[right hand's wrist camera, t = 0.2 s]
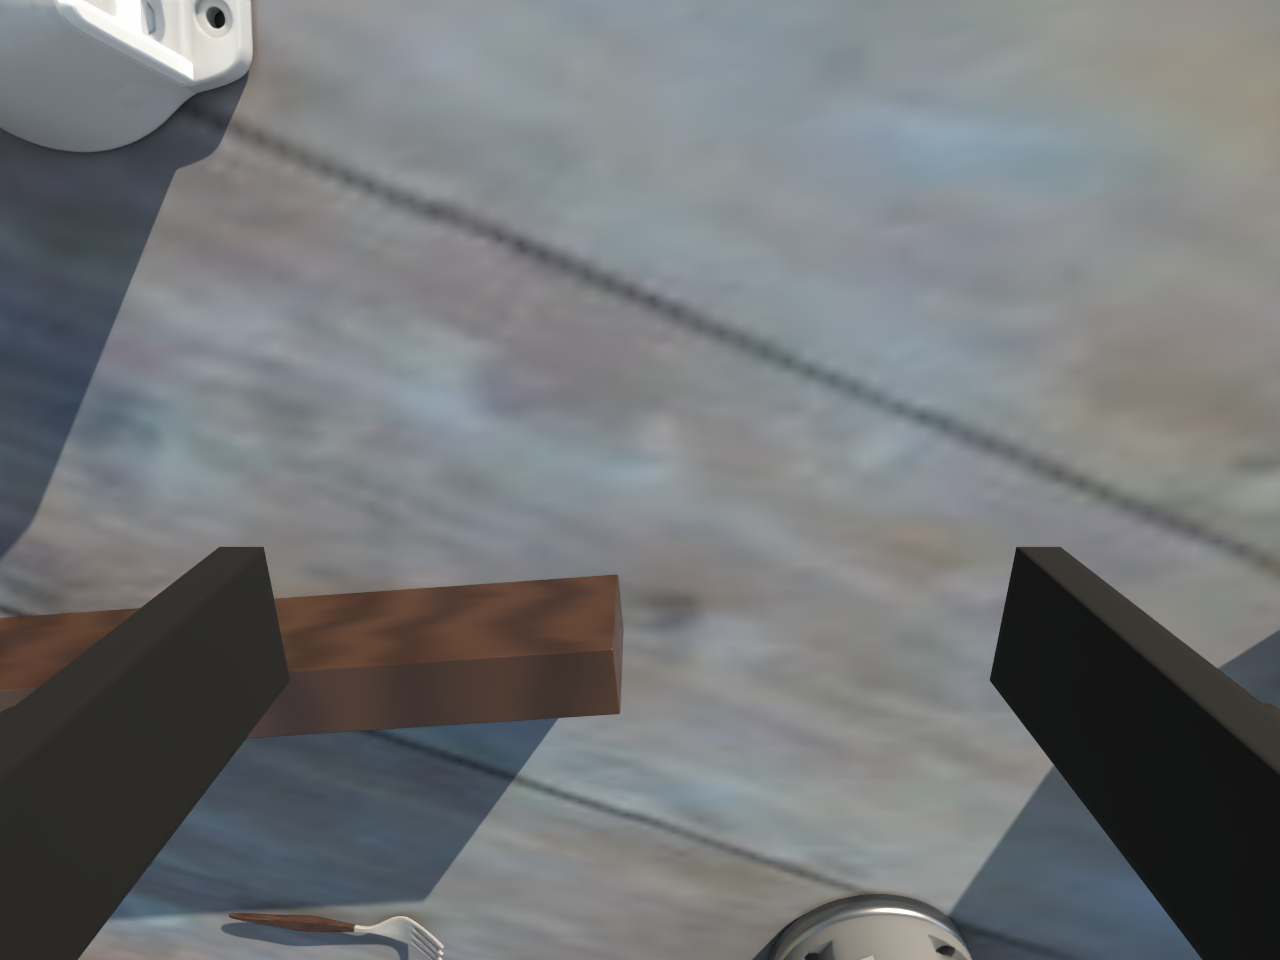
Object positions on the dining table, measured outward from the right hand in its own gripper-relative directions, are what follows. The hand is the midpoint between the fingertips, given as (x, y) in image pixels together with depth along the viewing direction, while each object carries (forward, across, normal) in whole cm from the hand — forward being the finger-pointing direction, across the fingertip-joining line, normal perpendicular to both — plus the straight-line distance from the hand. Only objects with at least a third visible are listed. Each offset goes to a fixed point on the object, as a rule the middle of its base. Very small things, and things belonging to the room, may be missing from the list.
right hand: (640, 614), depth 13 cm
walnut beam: (+28, +24, +17) cm, 40 cm away
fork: (+28, +22, +42) cm, 55 cm away
